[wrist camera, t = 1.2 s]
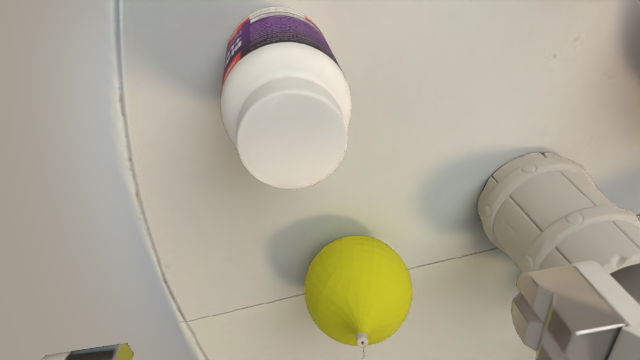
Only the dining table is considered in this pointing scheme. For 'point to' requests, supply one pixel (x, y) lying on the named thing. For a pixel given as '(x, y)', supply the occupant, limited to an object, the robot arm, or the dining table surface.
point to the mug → (559, 219)
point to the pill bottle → (284, 99)
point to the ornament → (358, 290)
